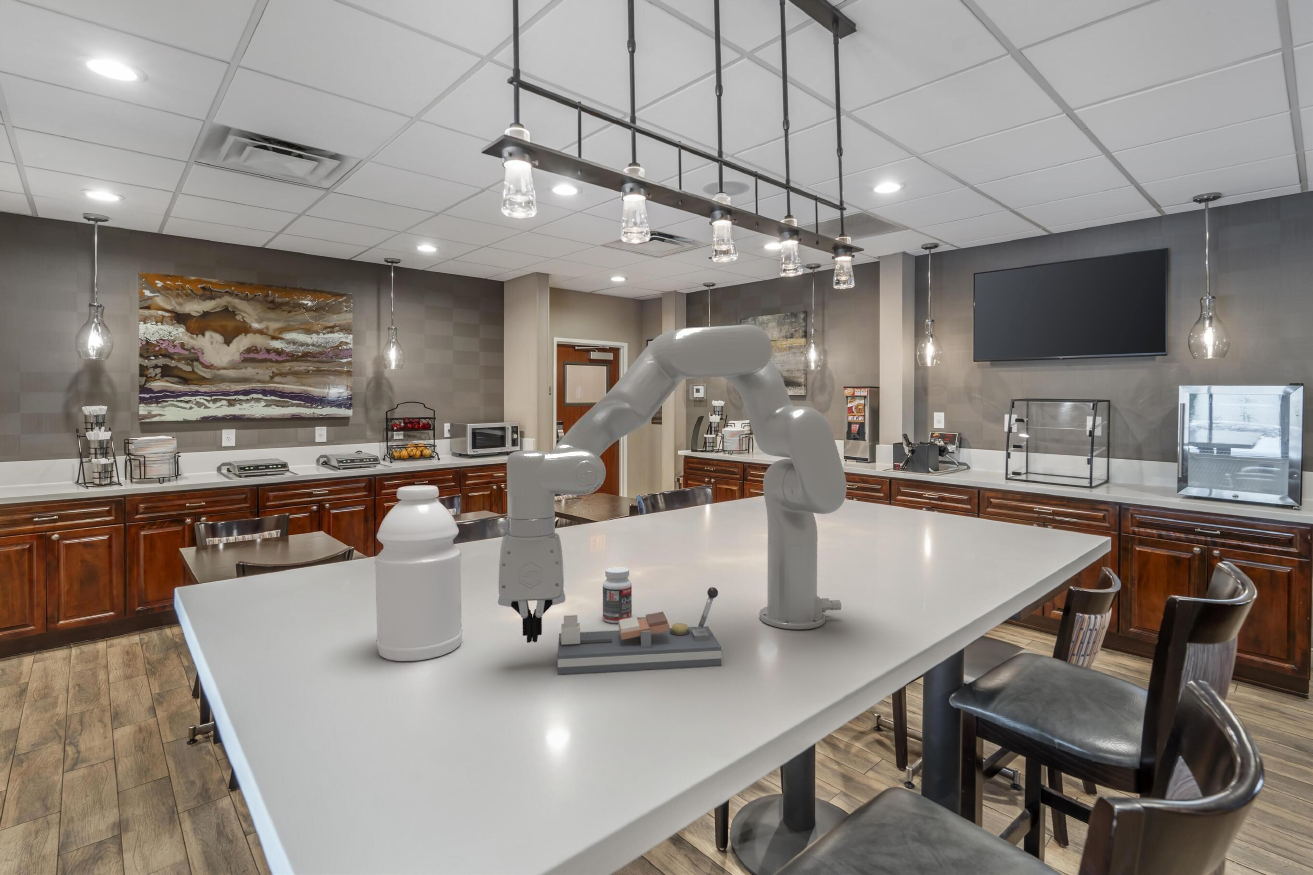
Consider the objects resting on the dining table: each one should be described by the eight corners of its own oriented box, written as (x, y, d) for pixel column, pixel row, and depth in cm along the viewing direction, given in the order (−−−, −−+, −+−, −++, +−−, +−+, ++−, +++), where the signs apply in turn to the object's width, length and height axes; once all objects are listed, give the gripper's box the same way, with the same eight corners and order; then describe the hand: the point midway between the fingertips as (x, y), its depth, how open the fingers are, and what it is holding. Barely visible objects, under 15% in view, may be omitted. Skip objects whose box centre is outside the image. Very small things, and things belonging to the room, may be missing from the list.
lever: (703, 628, 107) (718, 587, 107) (705, 632, 105) (720, 590, 105) (693, 625, 106) (708, 584, 106) (695, 629, 105) (710, 587, 105)
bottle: (478, 638, 114) (476, 484, 113) (427, 667, 101) (424, 493, 99) (414, 629, 118) (412, 481, 117) (357, 656, 105) (354, 490, 104)
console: (707, 642, 111) (707, 611, 111) (721, 665, 101) (721, 631, 101) (559, 650, 108) (559, 618, 107) (557, 675, 98) (557, 639, 97)
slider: (579, 638, 104) (579, 613, 104) (580, 643, 102) (579, 618, 102) (561, 639, 104) (561, 614, 104) (561, 644, 101) (561, 618, 101)
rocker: (665, 619, 107) (663, 610, 107) (670, 630, 102) (668, 620, 102) (619, 628, 106) (617, 619, 106) (621, 639, 101) (620, 630, 101)
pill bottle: (627, 625, 121) (627, 573, 120) (599, 623, 122) (598, 572, 121) (634, 615, 126) (634, 566, 126) (607, 614, 127) (607, 565, 127)
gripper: (480, 532, 97) (481, 650, 97) (578, 530, 99) (579, 645, 99) (487, 524, 104) (488, 633, 105) (577, 522, 106) (578, 629, 107)
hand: (532, 639), depth 102 cm, fingers closed
